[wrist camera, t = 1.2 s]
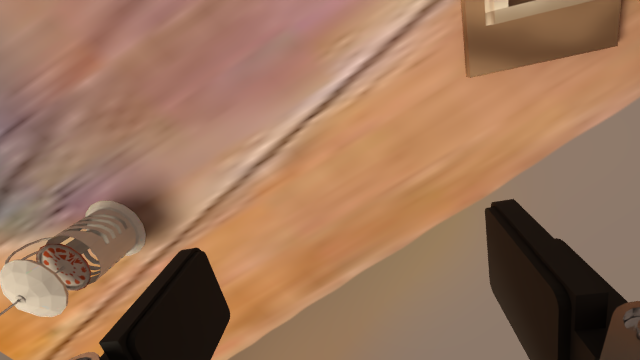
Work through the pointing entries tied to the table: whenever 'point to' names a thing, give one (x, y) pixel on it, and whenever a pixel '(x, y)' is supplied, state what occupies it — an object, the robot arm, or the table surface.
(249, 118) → the table surface
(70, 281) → the french press
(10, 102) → the table surface
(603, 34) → the socket board
